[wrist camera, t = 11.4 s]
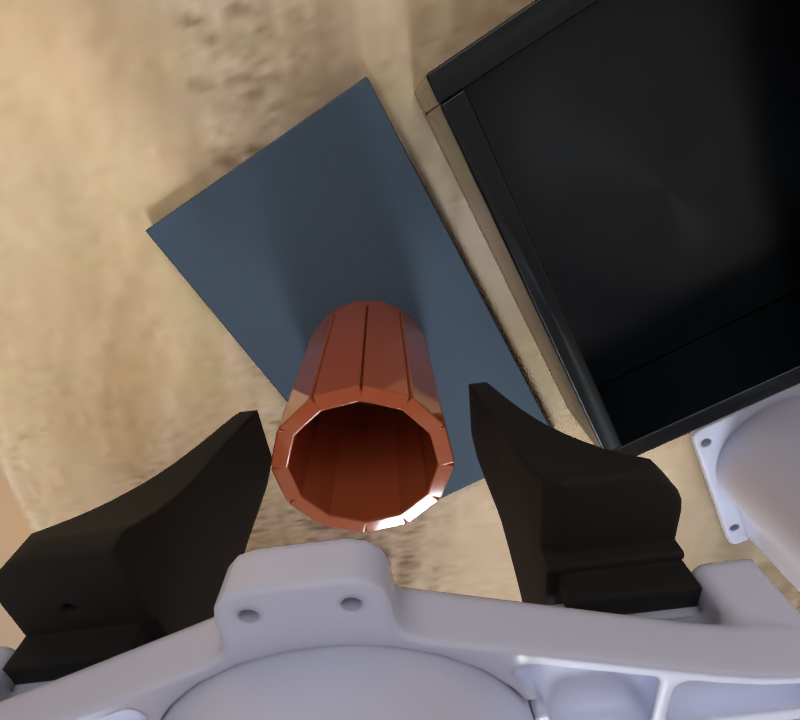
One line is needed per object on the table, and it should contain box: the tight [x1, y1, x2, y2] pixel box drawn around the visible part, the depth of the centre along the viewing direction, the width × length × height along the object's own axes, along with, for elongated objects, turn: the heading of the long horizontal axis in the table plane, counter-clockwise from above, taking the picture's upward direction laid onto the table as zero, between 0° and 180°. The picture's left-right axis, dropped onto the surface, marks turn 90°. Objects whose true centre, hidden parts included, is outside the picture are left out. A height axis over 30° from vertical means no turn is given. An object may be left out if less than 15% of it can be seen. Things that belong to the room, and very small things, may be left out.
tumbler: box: [271, 300, 455, 533], centre depth 16 cm, size 5×5×8 cm
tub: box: [414, 0, 800, 456], centre depth 16 cm, size 16×14×4 cm
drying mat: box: [146, 77, 549, 499], centre depth 20 cm, size 18×10×1 cm, turn 30°
